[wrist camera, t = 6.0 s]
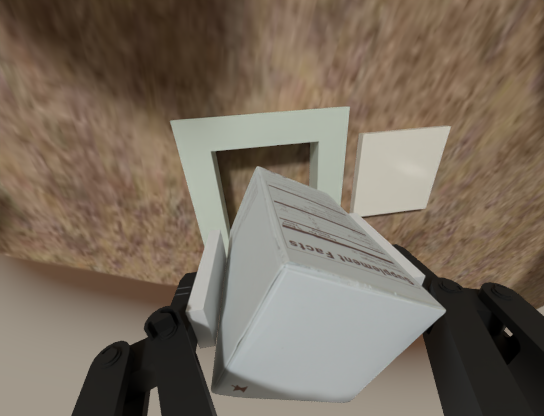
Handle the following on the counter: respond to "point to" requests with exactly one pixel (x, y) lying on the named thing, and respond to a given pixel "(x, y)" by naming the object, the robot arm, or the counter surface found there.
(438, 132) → the tile
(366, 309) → the supplement box
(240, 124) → the holder
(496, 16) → the counter surface
